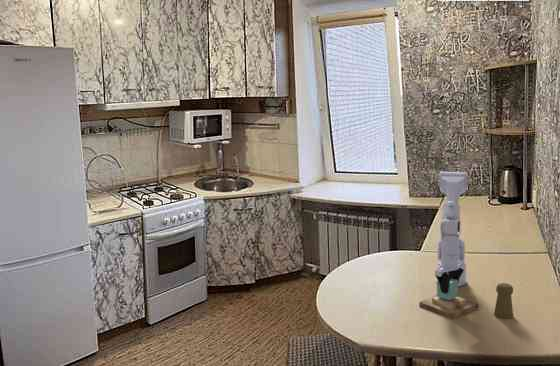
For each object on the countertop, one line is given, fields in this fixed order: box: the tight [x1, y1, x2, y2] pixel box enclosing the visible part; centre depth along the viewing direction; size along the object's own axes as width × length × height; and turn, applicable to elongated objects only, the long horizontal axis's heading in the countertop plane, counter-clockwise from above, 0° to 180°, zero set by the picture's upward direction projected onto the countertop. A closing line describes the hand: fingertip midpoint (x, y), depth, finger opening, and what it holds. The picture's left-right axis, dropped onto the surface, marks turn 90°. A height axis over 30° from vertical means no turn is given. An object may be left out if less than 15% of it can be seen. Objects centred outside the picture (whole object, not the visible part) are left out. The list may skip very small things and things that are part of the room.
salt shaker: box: [493, 282, 514, 320], centre depth 180 cm, size 6×6×11 cm
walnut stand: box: [419, 294, 479, 320], centre depth 189 cm, size 14×14×3 cm
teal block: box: [436, 278, 459, 300], centre depth 189 cm, size 5×5×6 cm
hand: (448, 290), depth 188 cm, fingers closed on teal block, 5 cm apart
